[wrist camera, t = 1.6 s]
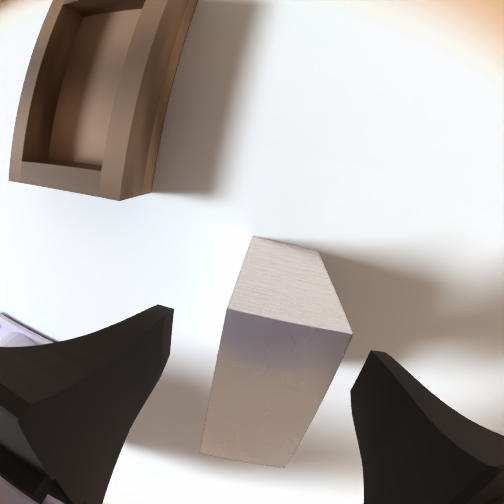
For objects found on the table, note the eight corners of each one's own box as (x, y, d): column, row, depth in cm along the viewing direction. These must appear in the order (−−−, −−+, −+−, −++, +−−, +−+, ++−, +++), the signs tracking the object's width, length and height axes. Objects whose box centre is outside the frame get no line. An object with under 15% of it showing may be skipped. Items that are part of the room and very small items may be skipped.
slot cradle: (150, 192, 13) (119, 201, 10) (45, 175, 13) (8, 180, 10) (198, 0, 10) (180, -31, 7) (85, 11, 10) (56, -7, 7)
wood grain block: (284, 357, 15) (284, 467, 8) (228, 346, 15) (199, 452, 8) (317, 251, 13) (352, 333, 7) (252, 235, 13) (226, 308, 7)
